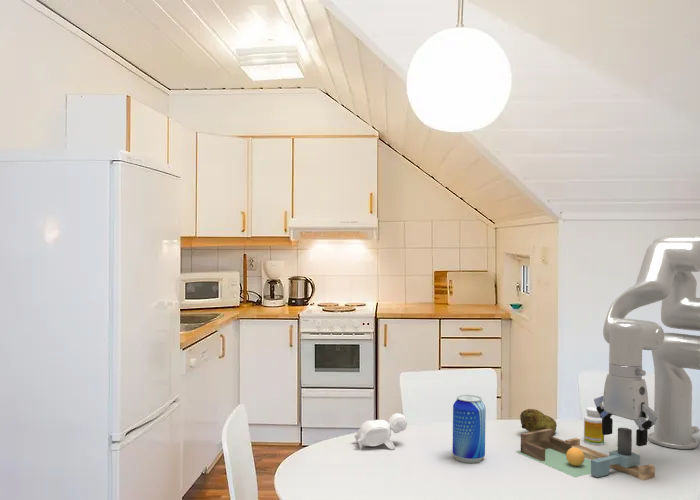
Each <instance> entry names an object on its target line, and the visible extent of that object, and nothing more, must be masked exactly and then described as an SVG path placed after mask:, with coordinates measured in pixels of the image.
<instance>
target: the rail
mask: <svg viewBox="0 0 700 500" xmlns="http://www.w3.org/2000/svg"><path fill="white" fill-rule="evenodd" d="M564 441H566V442H569V443H571V444H572V448H578V449H580V450H581V451H582V452H583V454H584V458H585V459H588V460H593V459H598V458H602V457H608V456H609V454H606V453H603V452H601V451H599V450H598V451H597V450H595V449H592V448H588V447H586V446H584V445H582V444H581V438H578V437H575V438H574V437H573V438H569V439H565V440H564ZM609 468H612V469H615V470H617V471H619V472H622V473H625V474H627V475H630V476H632V477H635V478H638V479H639V480H642V481H646V480H647V481H648V480H649V479H654V478H656V475H655V474H656V466H655V464H652V463H649V464H645V465H641V466H640V465H636V466H632V467H628V468H626V467H623V466H620V465H618V464H614V465H610V466H609Z"/></svg>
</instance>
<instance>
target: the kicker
mask: <svg viewBox="0 0 700 500" xmlns="http://www.w3.org/2000/svg"><path fill="white" fill-rule="evenodd" d="M632 443H633V430H632V429H631V428H628V427H617V449H615V450H612V451H608V453H609V454H608V455H609V456H608V457H602V458H598V459H593V460H591V473H590V476H593V477H594V478H600V477H604V476H607V475H608V476H609V475H610V469H609V468H610V467H609V466H610V465H614V464H618V465H620V466H623V467H626V468H628V467H632V466H640V465H641V455H640V454H638V453H636V452H632V449H633V447H632V446H633V444H632Z"/></svg>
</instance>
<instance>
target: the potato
mask: <svg viewBox="0 0 700 500" xmlns="http://www.w3.org/2000/svg"><path fill="white" fill-rule="evenodd" d="M519 417H520V424H521V428H522V429H524V430H526V431H527V432H533V431H539V430H544V429H549V428H550V429H553V435H554V433H556V430H557V426H558V425H557V421H556V420H555V419H554V418H553V417H551V416H548V415H546V414H544V413H543V412H542V411H540V410H538V409H535V408H528V409H527V408H526V409H524V410H523V411H521V413H520V415H519Z"/></svg>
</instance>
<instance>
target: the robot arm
mask: <svg viewBox="0 0 700 500" xmlns="http://www.w3.org/2000/svg"><path fill="white" fill-rule="evenodd" d="M643 257H644V258H643V260H642V263H641V266H640V269H639V273H638V276H637V279H636V282H635V284H634V285H633V286H631V287H629V288H628V289H626V290H625V291H624V292H622V293H621V294H620V295H619V296H617V297H616V298H615V299H614V300H613V302H612V303H611V304H610V306H609V309H608V312H607V313H606V314H607V315H606V317H605V321H604V324H603V331H602V332H603V339H604V341H605V342H606V343H607V344H608V345H609V347H608V348H609V350H608V351H609V353H608V354H609V356H608V357H609V358H608V373H607V375H606V378H605V382H604V388H603V395H602V396H599V397H596V398H594V399H593V402H594V404H595V408H596V409H597V411H598V413H599V414H600V418H601V419H602V434H603V435H604V436H607V435H612V434H613V423H614V422H613V418H612V416H616V417H620V418H623V419H627V420H630V421H634V423H635V425H636V426H637V427H638V428H637V429H636V430H635V432H636V434H635V436H636V438H635V445H636V446H637V447H644V446H647V444H648V441H650V442H652V443H653V444H655V445H658V446H661V447H665V448H670V449H679V450H690V449H691V450H693V449H696V448H697V447H698V445H699V443H698V442H699V441H698V440H697V439H695V438H694V437H693V435H694V434H698V433H699V432H700V428H699V427H698V426H696V425H695V426H693V425H692V424H693V422H692V421H693V420H692V418H693V384H692V380H691V378H690V376H689V374H688V373H687V372H686V370H685V369H691V370H698V371H700V335H695V334H694V335H693V334H688V333H687V334H686V333H678V332H677V333H676V332H665V331H664V329H663V327H662V326H661V325H660V324H658V323H657V322H655V321H650V320H642V319H632V318H626V316H627V315H628V314H630V312H632V311H635V310H636V309H639V308H641V307H645V306H648V305H651V304H654V303H658V302H660V301H661V308H660V319H661V323H662V325H663V326H665V327H666V328H670V329H676V330H683V331H684V330H685V331H694V332H700V297H697V287H698V286H697V285H698V282H697V279H696V277H695V276H694V274H693V273H699V272H700V235H665V236H663V235H662V236H659V237H657V238H655V239H654V240H653V242H652V243H651V244H649V245H648V246H647V248H646V250H645V254H644V256H643ZM643 351H651V357H652V361H653V369H654V370H653V371H654V396H653V397H654V400H653V401H654V405H653V406H654V410H653V409H652V408H651V407H650V406H649V395H648V393H649V392H648V387H647V382H646V379H645V378H643V377H645V376H646V374H647V372H646V370H643ZM652 427H653V431H652V432H650V433H648V430H650V429H651V428H652Z"/></svg>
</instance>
